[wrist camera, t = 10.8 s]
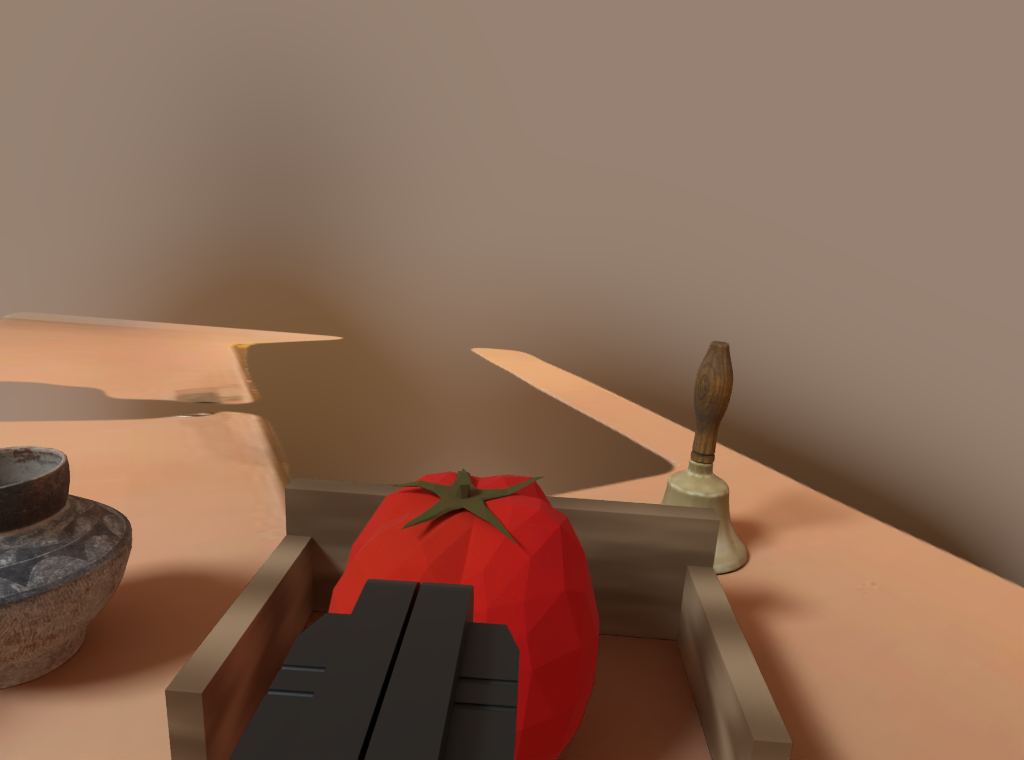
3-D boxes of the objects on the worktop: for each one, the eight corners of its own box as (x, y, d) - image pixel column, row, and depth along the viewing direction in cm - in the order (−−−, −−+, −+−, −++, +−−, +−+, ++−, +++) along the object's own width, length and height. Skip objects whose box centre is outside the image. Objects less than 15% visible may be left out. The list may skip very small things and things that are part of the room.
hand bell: (642, 513, 56) (664, 327, 52) (746, 533, 54) (777, 339, 50) (628, 561, 49) (652, 347, 44) (747, 586, 46) (785, 362, 42)
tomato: (643, 734, 33) (676, 482, 29) (469, 947, 23) (486, 608, 19) (453, 625, 40) (461, 414, 37) (262, 750, 30) (248, 480, 27)
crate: (772, 844, 27) (806, 678, 25) (174, 790, 28) (158, 625, 26) (696, 626, 41) (713, 508, 39) (298, 595, 42) (294, 477, 40)
